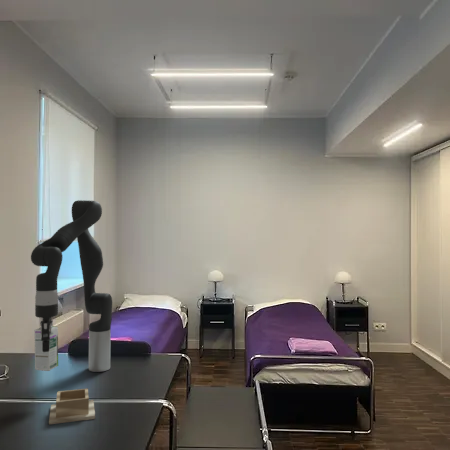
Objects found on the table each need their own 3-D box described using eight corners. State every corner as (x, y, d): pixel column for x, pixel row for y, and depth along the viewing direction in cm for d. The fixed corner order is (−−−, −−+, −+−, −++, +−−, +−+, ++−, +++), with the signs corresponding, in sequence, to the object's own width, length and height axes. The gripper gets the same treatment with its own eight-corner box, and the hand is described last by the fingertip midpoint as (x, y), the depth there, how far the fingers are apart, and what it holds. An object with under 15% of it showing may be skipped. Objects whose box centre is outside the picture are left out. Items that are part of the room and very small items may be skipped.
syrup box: (49, 371, 155) (49, 329, 155) (34, 370, 156) (34, 329, 156) (58, 366, 161) (58, 326, 161) (43, 365, 162) (43, 325, 162)
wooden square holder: (51, 407, 153) (51, 390, 153) (93, 402, 158) (93, 385, 158) (48, 424, 140) (49, 405, 140) (95, 418, 144) (95, 400, 144)
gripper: (57, 305, 153) (57, 353, 153) (58, 298, 167) (58, 342, 167) (33, 306, 151) (33, 355, 151) (37, 299, 164) (36, 344, 164)
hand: (46, 348), depth 159 cm, fingers closed on syrup box, 7 cm apart
